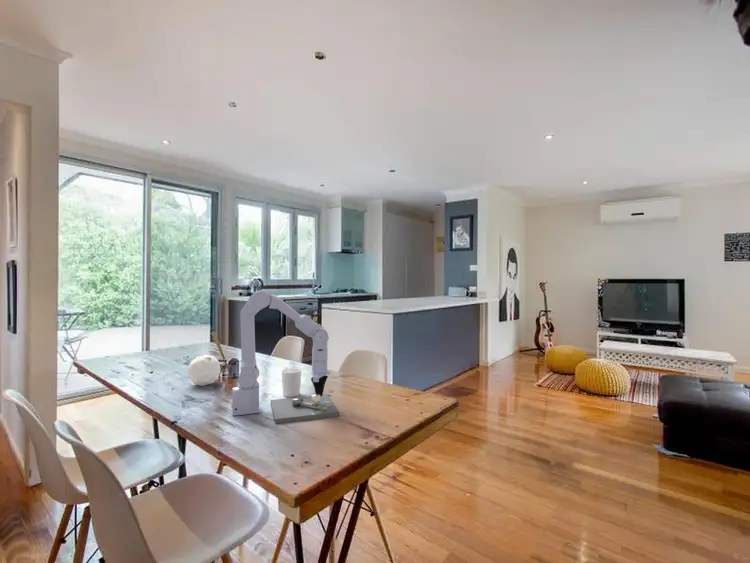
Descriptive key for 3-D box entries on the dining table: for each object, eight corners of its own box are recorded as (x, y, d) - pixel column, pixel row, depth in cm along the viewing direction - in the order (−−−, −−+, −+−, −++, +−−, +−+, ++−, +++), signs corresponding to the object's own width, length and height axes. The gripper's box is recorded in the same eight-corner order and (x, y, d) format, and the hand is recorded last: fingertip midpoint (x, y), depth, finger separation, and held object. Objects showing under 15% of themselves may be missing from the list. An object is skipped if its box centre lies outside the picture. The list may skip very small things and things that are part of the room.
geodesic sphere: (233, 370, 169) (219, 345, 172) (210, 378, 157) (195, 350, 160) (214, 386, 174) (200, 361, 177) (190, 395, 161) (175, 368, 164)
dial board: (275, 423, 124) (275, 418, 124) (270, 403, 143) (270, 399, 143) (339, 416, 131) (339, 411, 131) (327, 398, 150) (327, 394, 150)
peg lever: (289, 405, 136) (289, 392, 136) (296, 401, 140) (296, 389, 140) (323, 411, 130) (323, 398, 130) (329, 407, 134) (329, 395, 134)
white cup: (296, 398, 150) (296, 373, 150) (278, 396, 151) (278, 372, 151) (304, 392, 157) (304, 368, 157) (286, 391, 159) (286, 367, 159)
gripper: (326, 364, 133) (326, 402, 133) (333, 356, 147) (332, 390, 147) (307, 364, 133) (306, 402, 133) (315, 355, 148) (315, 389, 148)
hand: (319, 396), depth 140 cm, fingers closed
